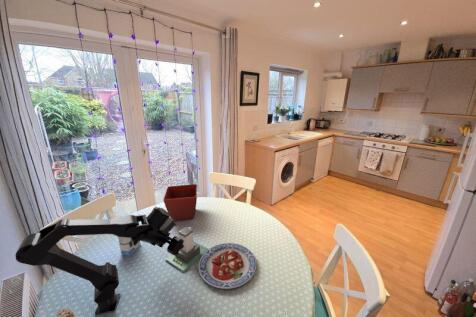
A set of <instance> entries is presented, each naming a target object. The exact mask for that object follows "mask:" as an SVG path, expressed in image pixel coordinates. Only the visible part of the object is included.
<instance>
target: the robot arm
mask: <svg viewBox="0 0 476 317" xmlns="http://www.w3.org/2000/svg"><path fill="white" fill-rule="evenodd" d="M140 223H141V224H140ZM175 226H177V223H176V221H174V220H173V219H172V218H171V217H170V214H169V213H168V211H167V209H166V210H165V209H164V208H163V207H157V206H154V207H153V209H152V210H151V212H150V213H149V214H148V215H146V214H139V215H138V214H137V215H133V214H127V215H120V216H118V217H115V218H108V219H107V218H105V219H104V218H103V219H102V218H101V219H100V218H99V219H97V218H96V219H69V218H62V219H60V220H58V221H56V222H55V223H53V224H50V225H48V226H46V227H43V228H42V229H40V230H39V231H37V232H35V233H31V234H28V235H26V236H25V237H24V238H23V240H22V241H21V243H20V244H19V247H18V248H17V251H16V253H15V255H14V256H15V261H17V262H18V263H20V264H24V265H28V266H34V267H36V266H37V267H38V266H46V265H47V266H50V267H53V268H54V269H57V270H60V271H63V272H65V273H68V274H70V275H72V276H76V277H78V278H80V279H84V280H86V281H88V282H89V283H90V284H92V286H93V287H94V293H93V294H94V296H93V300H94V302H95V303H96V304H97V307H96V309H95V311H94V314H95V315H98V314H104V313H109V312H114V311H115V310H116V308H117V306H118V303H119V300H120V298H121V293H116V289H118V287H119V285H120V278H119V270H118V267H117V264H112V263H111V262H109V261H106V263H105V264H103V265H98V264H96V263H94V262H92V261H90V260H87V259H84V258H82V257H80V256H78V255H76V254H74V253H71V252H70V251H67V250H65V249H62V248H60V247H59V246H58V242H60V241H61V240H62V239H64V238H65V237H72V236H73V237H74V236H92V235H93V236H95V235H112V236H116V237H117V238H118V237H125V238H131V241H132V243H133V245H134V246H135V245H136V244H137V243H138V242H139V241H140V242H144V243H147V244H150V245H151V246H152V247H153V246H154V247H155V246H158V247H159V248H163V247H164V245H165V244H168V246H167V248H166V251H167V253H169V254H170V255H175V256H176V255H178V253H179V251H180V250H181V249H183V247H184V245H183V243H184V240H183V239H181V238H179V236H176V235H175V236H173V237H171V236H170V235H171V233H170V232H171V231H172V229H174V227H175Z"/></svg>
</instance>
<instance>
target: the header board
mask: <svg viewBox="0 0 476 317" xmlns="http://www.w3.org/2000/svg"><path fill="white" fill-rule="evenodd" d="M193 244H194V249H192V250H191V251H190V252H189V253H187V254H186V253H184V252H182V251H181V250H180V251H179V253H178V255H176V256H175V255H172V254H170V255H169V256H168V257H167V258H166V259H165V261H166V262H167V263H168V264H170V265H171V266H173V267H174V268H176V269H178V270H179V271H180V272H181V273H185V272H186V271H187V270H189V268H191V266H193V265H194V264H195V263H196V262H197V261H198V260H200V259H201V257H202V255H203V254H204V253H205V252H206V251H207V250H208V249H209V248H207V247H205V246H203V245H202V244H200V243H199V242H196V241H194V240H193Z"/></svg>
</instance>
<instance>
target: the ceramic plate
mask: <svg viewBox="0 0 476 317" xmlns="http://www.w3.org/2000/svg"><path fill="white" fill-rule="evenodd" d="M256 268H257V260H256V257H255V255H254V254H253V252H252V251H251V250H250V249H248V248H247V247H246V246H244V245H242V244H239V243H234V242H224V243H219V244H216V245H213V246H212V247H209V248H208V250H207V251H206V252H205V253H204V254H203V255H202V257H200V258H199V262H198V272H199V275H200V277H201V279H203V281H204V282H205V283H207V284H208V285H210V286H211V287H214V288H218V289H224V290H225V289H226V290H227V289H235V288H238V287H241V286H243V285H245V284H246V283H248V281H249V280H251V279H252V277H253V276H254V274H255V273H256Z"/></svg>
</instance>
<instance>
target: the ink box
mask: <svg viewBox="0 0 476 317" xmlns="http://www.w3.org/2000/svg"><path fill="white" fill-rule="evenodd" d="M117 239H118V243H119V249H120V253H121V255H122V256H131V255H132V254H134V252H135V251H136V250H137V248H138V247H140V245H141V241H139V242H138V243H137V244H136V245H135V246H134V245H133V243H132V241H131V238H125V237H118V236H117Z"/></svg>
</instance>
